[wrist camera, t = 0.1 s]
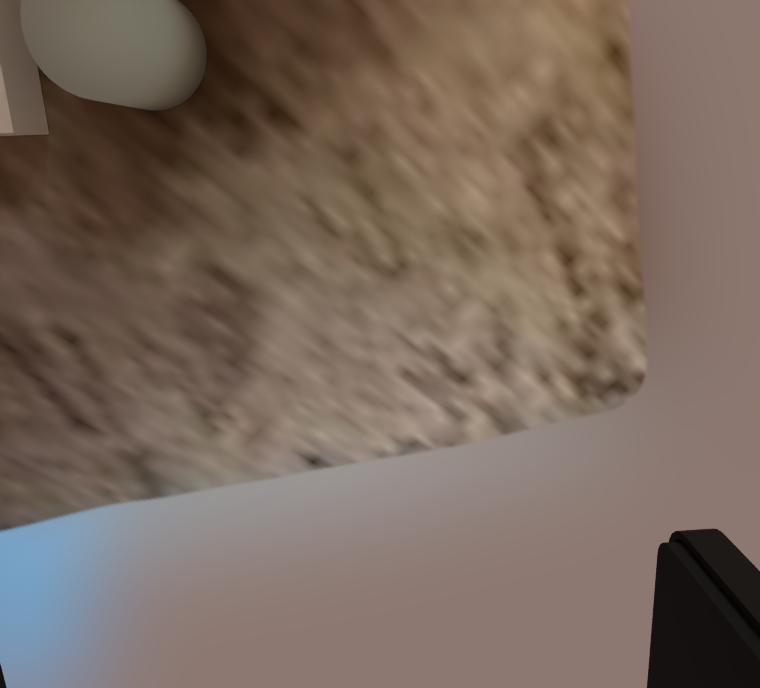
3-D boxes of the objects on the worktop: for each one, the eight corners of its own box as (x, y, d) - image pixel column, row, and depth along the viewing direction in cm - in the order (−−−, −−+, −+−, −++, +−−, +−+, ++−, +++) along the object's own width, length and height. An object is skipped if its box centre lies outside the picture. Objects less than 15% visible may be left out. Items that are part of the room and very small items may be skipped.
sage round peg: (83, -10, 35) (7, -54, 27) (199, -14, 35) (156, -59, 27) (101, 112, 36) (34, 103, 29) (212, 108, 36) (175, 98, 29)
